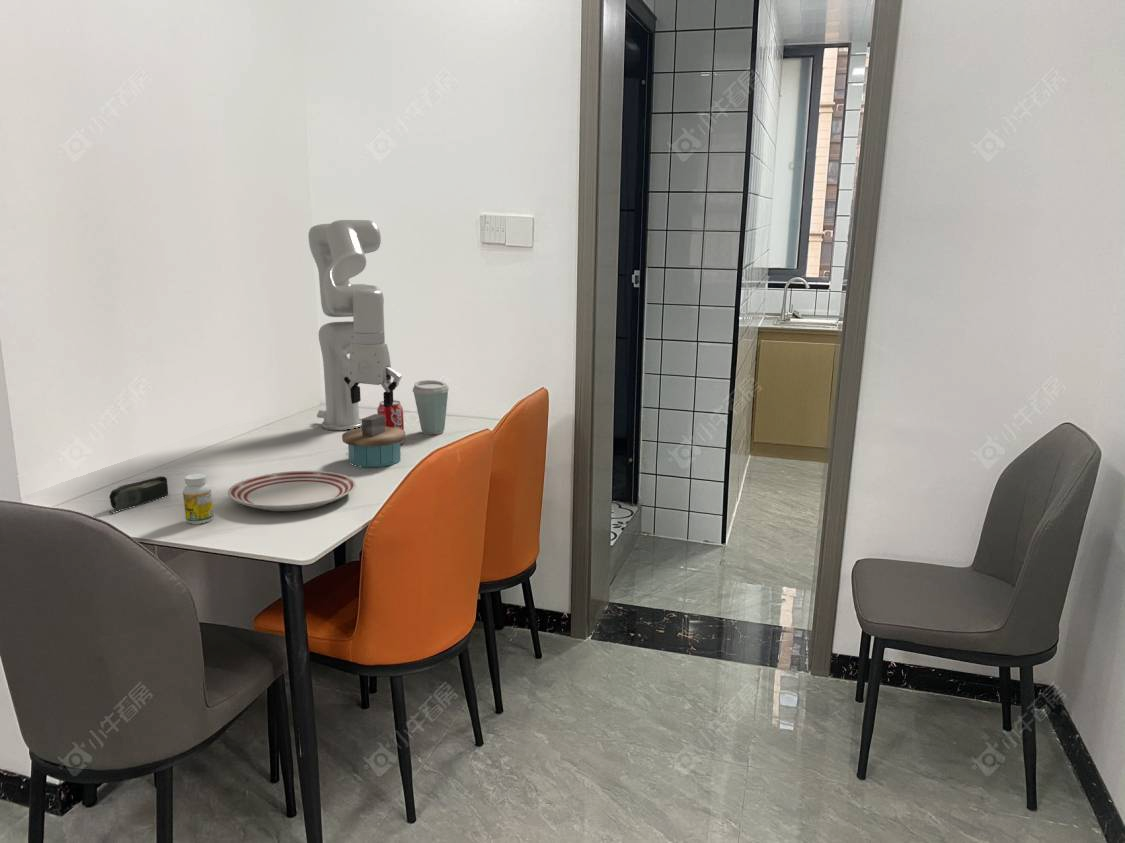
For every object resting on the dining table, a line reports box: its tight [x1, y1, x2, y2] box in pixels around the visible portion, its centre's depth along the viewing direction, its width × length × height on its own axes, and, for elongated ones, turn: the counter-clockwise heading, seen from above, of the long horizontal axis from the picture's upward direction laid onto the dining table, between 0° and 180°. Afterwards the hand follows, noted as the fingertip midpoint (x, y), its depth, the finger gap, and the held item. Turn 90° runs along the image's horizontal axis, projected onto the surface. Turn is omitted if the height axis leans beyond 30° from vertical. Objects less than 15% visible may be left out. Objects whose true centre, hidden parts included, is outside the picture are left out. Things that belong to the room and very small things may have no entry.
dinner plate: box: [227, 470, 357, 512], centre depth 190 cm, size 28×27×3 cm
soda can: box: [376, 399, 405, 445], centre depth 235 cm, size 7×7×12 cm
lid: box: [341, 413, 406, 446], centre depth 218 cm, size 16×16×6 cm
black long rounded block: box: [108, 475, 169, 514], centre depth 185 cm, size 5×3×15 cm
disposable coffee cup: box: [412, 379, 450, 435], centre depth 248 cm, size 11×11×15 cm
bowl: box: [347, 442, 402, 468], centre depth 219 cm, size 13×13×6 cm
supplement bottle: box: [182, 473, 214, 525], centre depth 175 cm, size 5×5×10 cm
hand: (372, 404), depth 217 cm, fingers open, 9 cm apart
